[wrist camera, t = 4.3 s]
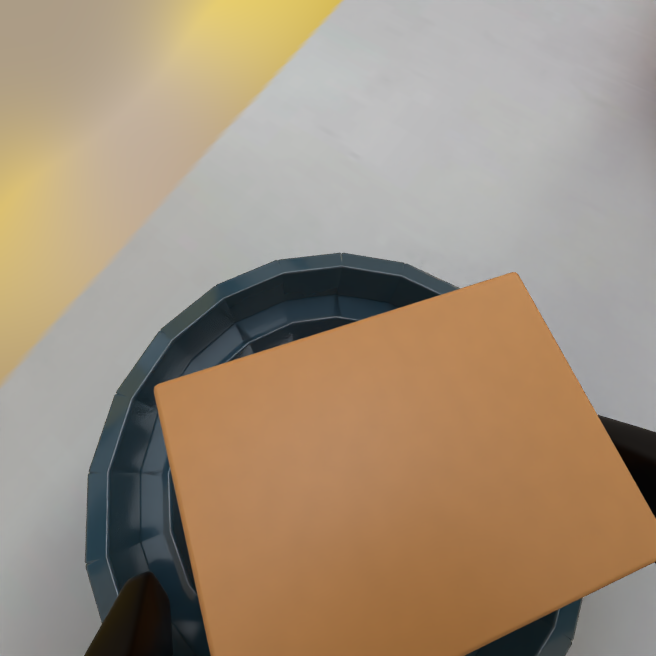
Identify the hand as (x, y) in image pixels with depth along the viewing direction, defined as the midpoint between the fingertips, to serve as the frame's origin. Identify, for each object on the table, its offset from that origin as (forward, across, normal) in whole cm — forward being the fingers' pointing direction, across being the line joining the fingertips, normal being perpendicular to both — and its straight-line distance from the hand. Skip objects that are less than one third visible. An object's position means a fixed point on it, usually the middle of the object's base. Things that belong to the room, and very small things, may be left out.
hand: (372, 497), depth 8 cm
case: (+6, 0, +5) cm, 8 cm away
